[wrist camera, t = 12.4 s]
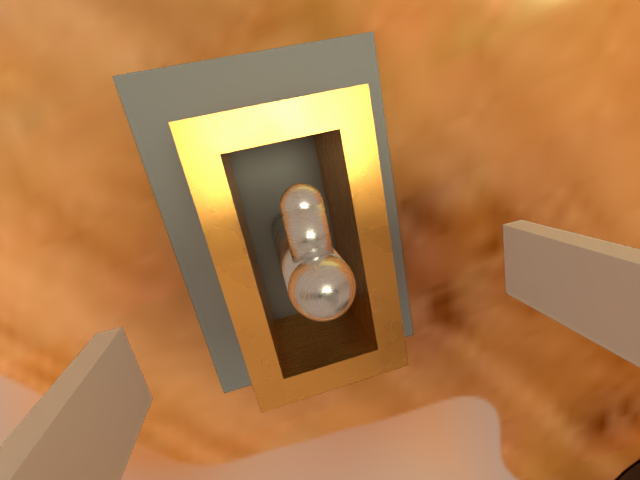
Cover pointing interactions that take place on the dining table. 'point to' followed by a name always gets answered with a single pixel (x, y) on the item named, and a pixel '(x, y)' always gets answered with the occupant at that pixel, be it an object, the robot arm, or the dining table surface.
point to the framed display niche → (348, 230)
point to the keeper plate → (249, 165)
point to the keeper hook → (311, 256)
